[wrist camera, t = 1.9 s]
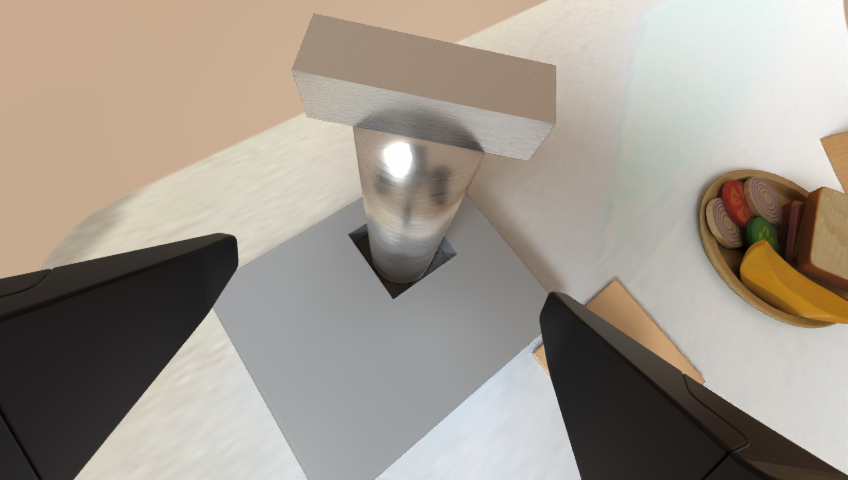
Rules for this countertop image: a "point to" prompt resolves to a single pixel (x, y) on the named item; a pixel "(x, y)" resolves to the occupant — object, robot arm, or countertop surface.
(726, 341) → the countertop surface
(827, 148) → the sandwich container
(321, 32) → the t key
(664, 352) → the coaster
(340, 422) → the cover plate
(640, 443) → the robot arm
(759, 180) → the toy sandwich meal
